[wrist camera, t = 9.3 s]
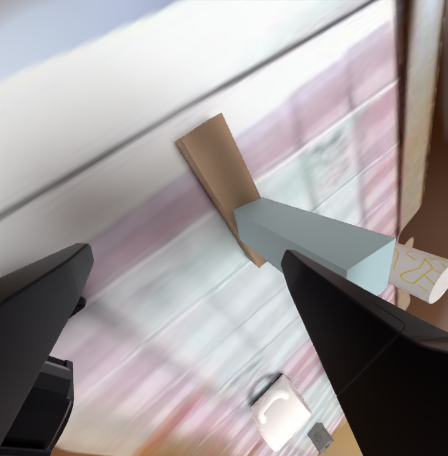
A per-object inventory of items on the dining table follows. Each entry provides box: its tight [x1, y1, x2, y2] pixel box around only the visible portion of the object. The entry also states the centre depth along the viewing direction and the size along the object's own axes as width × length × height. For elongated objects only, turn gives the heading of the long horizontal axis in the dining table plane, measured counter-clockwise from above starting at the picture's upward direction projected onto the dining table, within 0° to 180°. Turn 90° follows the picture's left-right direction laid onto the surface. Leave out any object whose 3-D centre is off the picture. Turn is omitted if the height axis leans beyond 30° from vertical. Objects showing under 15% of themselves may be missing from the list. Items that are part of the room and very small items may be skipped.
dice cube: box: [308, 423, 334, 453], centre depth 65 cm, size 5×5×5 cm
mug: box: [251, 375, 311, 452], centre depth 39 cm, size 12×10×8 cm
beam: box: [175, 113, 267, 268], centre depth 22 cm, size 4×18×3 cm, turn 31°
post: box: [233, 197, 396, 296], centre depth 16 cm, size 4×4×13 cm
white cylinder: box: [388, 243, 448, 304], centre depth 37 cm, size 8×8×12 cm
